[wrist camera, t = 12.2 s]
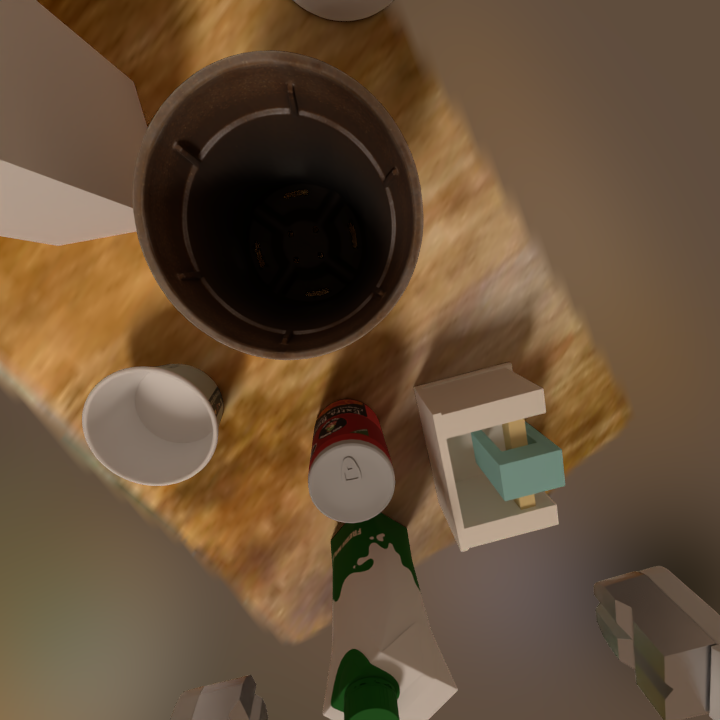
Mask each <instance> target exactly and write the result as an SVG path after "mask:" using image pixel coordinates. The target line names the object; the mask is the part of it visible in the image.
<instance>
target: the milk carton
mask: <svg viewBox="0 0 720 720" xmlns="http://www.w3.org/2000/svg"><path fill="white" fill-rule="evenodd" d="M331 553H332V566H333V636H332V638H333V639H332V654H331V660H330V667H329V674H328V680H327V687H326V695H325V701H324V707H323V715H324V716H326V717H328V718H330V719H332V720H428V719H429V718H430V717H431V716H432V715H433V714H434V713H435V712H436V711H437V710H438V709H439V708H440V707H441V706H442V705H443V704H444V703H445V702H446V701H447V700H448V699H449V698H450V697H451V696H452V695H453V694H454V693H455V692H456V691H457V690H458V689H457V687H456V684H455V682H454V680H453V678H452V676H451V673H450V671H449V669H448V667H447V665H446V662H445V660H444V658H443V656H442V654H441V651H440V649H439V647H438V645H437V643H436V640H435V638H434V636H433V634H432V631H431V628H430V625H429V621H428V618H427V614H426V610H425V607H424V603H423V599H422V596H421V592H420V588H419V584H418V581H417V577H416V573H415V570H414V566H413V562H412V557H411V551H410V545H409V539H408V532H407V528H406V527H404V526H402V525H401V524H399V523H397V522H396V521H394V520H392V519H391V518H389V517H387V516H386V515H384V514H382V513H381V512H380V513H379V514H378V515H376V516H375V517H373V518H371V519H369V520H366V521H363V522H357V523H345V524H344V525H343V527H342V528H341V529H340V530H339V532H338V533H337V534H336V535H335V536H334V538H333V539H332V540H331Z"/></svg>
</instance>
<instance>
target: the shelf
mask: <svg viewBox="0 0 720 720" xmlns="http://www.w3.org/2000/svg"><path fill="white" fill-rule="evenodd" d="M414 392H415V397H416V401H417V406H418V410H419V415H420V419H421V424H422V428H423V433H424V438H425V442H426V447H427V451H428V456H429V460H430V465H431V470H432V474H433V479H434V483H435V488H436V492H437V497H438V501H439V504H440V506H441V509H442V511H443V513H444V515H445V517H446V520H447V522H448V524H449V526H450V528H451V531H452V533H453V535H454V537H455V540H456V542H457V544H458V546H459V548H460V550H461V552H463V551H467V550H468V548H471V547H475V546H479V545H482V544H486V543H490V542H493V541H498V540H501V539H505V538H509V537H513V536H516V535H520V534H524V533H528V532H532V531H535V530H539V529H543V528H547V527H550V526H554V525H558V524H559V522H558V513H557V504H556V503H555V502H554V501H553V500H552V499H551V498H550V497H549V496H548V495H547V494H546V493H545V492H544V491H543V492H539V493H536V494H532V495H528V496H524V497H520V498H516V499H512V500H509V501H504V500H503V498H502V497H501V496H500V494H499V493H498V492H497V490H496V489H495V487H494V486H493V485H492V483H491V482H490V481H489V479H488V478H487V477H486V475H485V474H484V473H483V471H482V470H481V469H480V467H479V466H478V465H477V463H476V460H475V455H474V449H473V443H472V437H471V432H474V431H478V430H482V431H483V432H484V433H485V434H486V435H487V436H488V437H489V438H490V439H491V441H492V442H493V443H494V444H495V445H496V446H497V447H498V448H499V449H500V450H501V451H506V450H510V449H514V448H517V447H521V446H525V445H528V442H527V435H526V427H525V420H524V418H528V417H532V416H535V415H539V414H543V413H546V407H545V399H544V390H543V388H541V387H540V386H538V385H536V384H534V383H533V382H531V381H529V380H527V379H525V378H524V377H522V376H520V375H518V374H516V373H515V372H513V369H512V363H510V362H508V363H504V364H500V365H496V366H492V367H488V368H485V369H481V370H477V371H473V372H469V373H465V374H462V375H458V376H454V377H450V378H446V379H442V380H439V381H435V382H431V383H427V384H423V385H419V386H416V387H414Z"/></svg>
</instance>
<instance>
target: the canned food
mask: <svg viewBox="0 0 720 720" xmlns="http://www.w3.org/2000/svg"><path fill="white" fill-rule="evenodd" d="M308 487H309V493H310V496H311V499H312V501H313V503H314V504H315V506H316V507H317V508H318V509H319V510H320V511H321V512H322V513H323V514H324V515H326V516H327V517H329V518H331V519H333V520H336V521H339V522H344V523H357V522H363V521H366V520H369V519H371V518H373V517H375V516H376V515H378V514H379V513H380V512H382V511H383V510H384V508H385V507H386V506H387V505H388V503H389V502H390V500H391V498H392V496H393V493H394V488H395V475H394V469H393V466H392V462H391V459H390V455H389V452H388V449H387V446H386V443H385V439H384V436H383V433H382V430H381V427H380V423H379V420H378V418H377V416H376V414H375V413H374V412H373V411H372V410H371V409H370V408H369V407H368V406H367V405H365V404H363V403H361V402H359V401H356V400H350V399H345V400H339V401H336V402H334V403H332V404H330V405H329V406H327V407H326V408H325V409H324V410H323V411H322V412H321V413H320V415H319V417H318V419H317V420H316V424H315V428H314V436H313V443H312V450H311V458H310V465H309V475H308Z"/></svg>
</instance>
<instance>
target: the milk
mask: <svg viewBox="0 0 720 720" xmlns="http://www.w3.org/2000/svg"><path fill="white" fill-rule="evenodd" d="M147 129H148V128H147V125H146V121H145V118H144V115H143V111H142V108H141V105H140V101H139V98H138V95H137V91H136V88H135V85H134V82H133V81H132V80H131V79H130V78H128V77H127V76H126V75H125V74H124V73H122V72H121V71H120V70H119V69H118V68H116V67H115V66H114V65H113V64H112V63H110V62H109V61H108V60H107V59H106V58H104V57H103V56H102V55H101V54H100V53H99V52H97V51H96V50H95V49H94V48H93V47H91V46H90V45H89V44H88V43H87V42H85V41H84V40H83V39H82V38H81V37H79V36H78V35H77V34H76V33H75V32H73V31H72V30H71V29H70V28H69V27H67V26H66V25H65V24H64V23H63V22H62V21H60V20H59V19H58V18H57V17H56V16H54V15H53V14H52V13H51V12H50V11H48V10H47V9H46V8H45V7H44V6H42V5H41V4H40V3H39V2H38V1H36V0H0V236H4V237H10V238H15V239H21V240H27V241H33V242H39V243H45V244H51V245H57V246H60V245H65V244H71V243H76V242H81V241H87V240H92V239H98V238H103V237H109V236H114V235H120V234H125V233H131V232H136V225H135V219H134V212H133V181H134V173H135V167H136V161H137V157H138V153H139V150H140V147H141V144H142V141H143V138H144V136H145V133H146V131H147Z"/></svg>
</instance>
